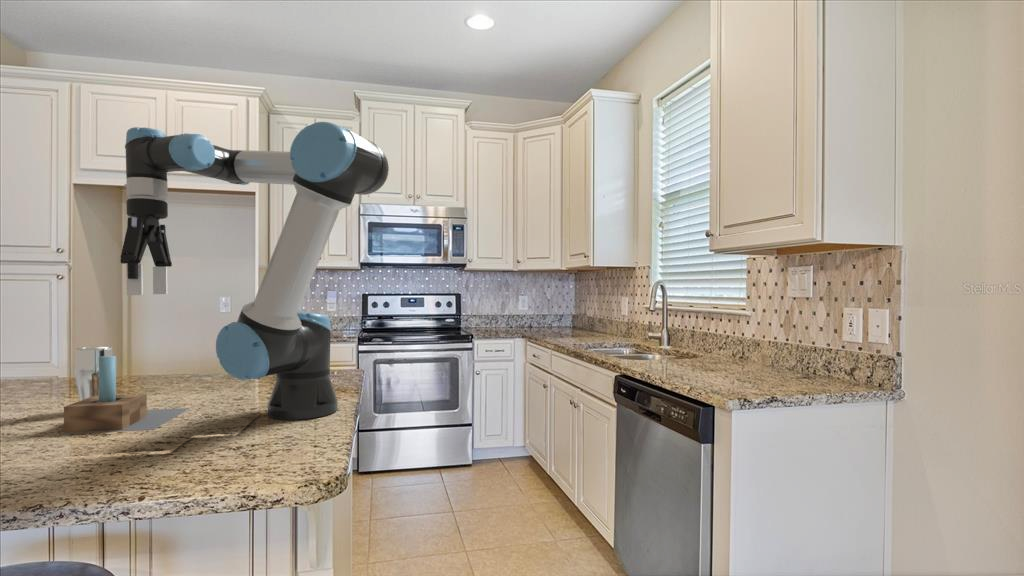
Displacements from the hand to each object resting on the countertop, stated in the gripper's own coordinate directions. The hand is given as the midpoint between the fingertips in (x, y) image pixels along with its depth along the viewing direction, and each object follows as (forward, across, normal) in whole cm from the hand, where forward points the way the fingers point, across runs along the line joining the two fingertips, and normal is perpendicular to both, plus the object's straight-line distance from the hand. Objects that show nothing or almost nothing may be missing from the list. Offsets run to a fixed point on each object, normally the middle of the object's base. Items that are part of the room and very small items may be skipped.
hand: (148, 294), depth 115 cm
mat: (+27, +5, -2) cm, 28 cm away
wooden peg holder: (+27, +8, -5) cm, 28 cm away
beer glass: (+27, -5, -13) cm, 31 cm away
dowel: (+27, +8, -5) cm, 28 cm away
